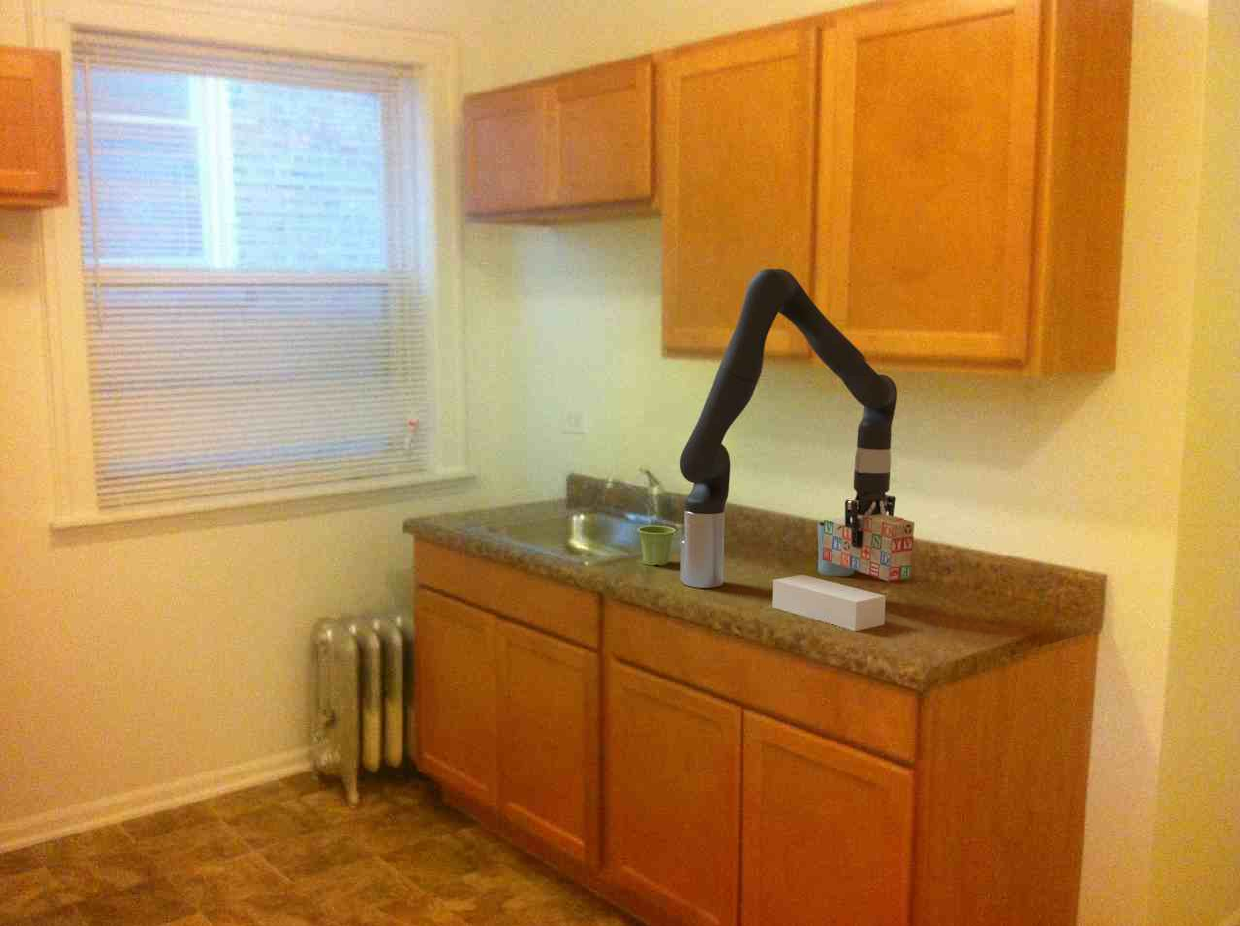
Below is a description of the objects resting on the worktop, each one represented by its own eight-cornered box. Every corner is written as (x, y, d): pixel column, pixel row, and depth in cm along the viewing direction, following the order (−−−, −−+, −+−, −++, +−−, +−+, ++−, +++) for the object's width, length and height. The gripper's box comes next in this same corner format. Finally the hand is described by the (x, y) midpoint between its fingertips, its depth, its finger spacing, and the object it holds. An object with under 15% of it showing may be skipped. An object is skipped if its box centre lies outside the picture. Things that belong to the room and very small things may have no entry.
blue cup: (826, 566, 292) (828, 519, 291) (864, 572, 287) (866, 523, 285) (808, 573, 284) (810, 525, 283) (847, 579, 278) (849, 530, 277)
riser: (772, 607, 251) (773, 579, 251) (801, 601, 257) (802, 574, 256) (855, 631, 234) (856, 602, 233) (884, 624, 239) (885, 595, 238)
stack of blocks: (821, 560, 260) (824, 505, 258) (842, 557, 263) (845, 503, 261) (889, 581, 242) (892, 523, 240) (911, 578, 245) (915, 521, 243)
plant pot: (682, 563, 293) (682, 529, 292) (658, 569, 286) (659, 534, 285) (653, 557, 299) (653, 524, 298) (629, 563, 292) (630, 529, 291)
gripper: (880, 464, 256) (876, 539, 259) (836, 468, 247) (832, 546, 250) (908, 468, 250) (903, 545, 253) (864, 473, 242) (859, 552, 244)
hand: (867, 545), depth 251 cm, fingers closed on stack of blocks, 6 cm apart
